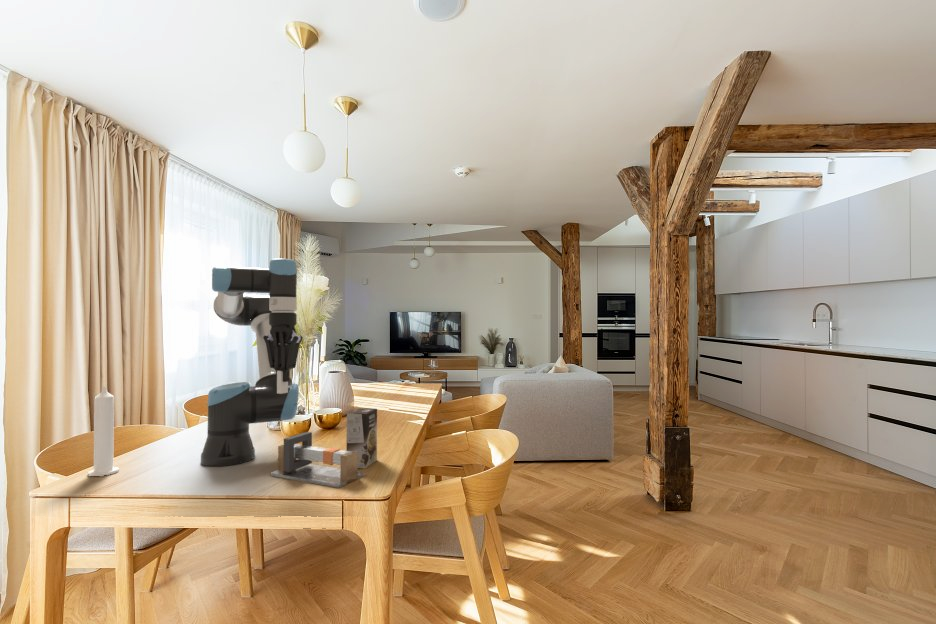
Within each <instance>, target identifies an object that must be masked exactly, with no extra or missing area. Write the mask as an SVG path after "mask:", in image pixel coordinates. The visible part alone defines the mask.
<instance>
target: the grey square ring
mask: <svg viewBox="0 0 936 624" xmlns="http://www.w3.org/2000/svg"><path fill="white" fill-rule="evenodd" d="M312 433H313V432H310V431H305V432H301V433H298V434H296V435H295V434H294V435H291V436H288V437H285V438H283V445H284V471H285V472H291V471H293V470H296V469H298V468H301V467H303V466H306V465H308V464H313V461H311V460H304V459H298V458H297V459H296V460H295V461H294V444H299V443H301V445H307V446H313V441H312V440H313V439H312V438H313V434H312Z"/></svg>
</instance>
